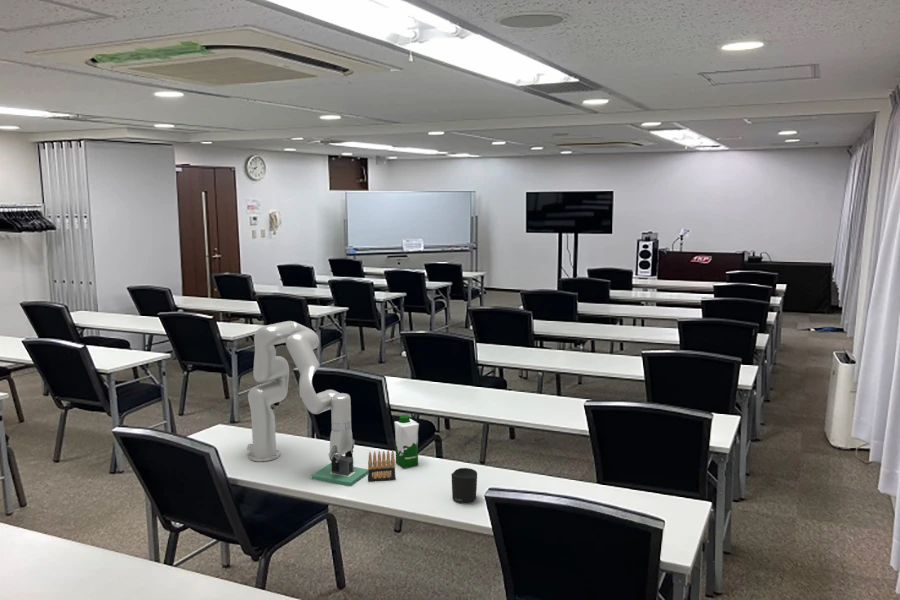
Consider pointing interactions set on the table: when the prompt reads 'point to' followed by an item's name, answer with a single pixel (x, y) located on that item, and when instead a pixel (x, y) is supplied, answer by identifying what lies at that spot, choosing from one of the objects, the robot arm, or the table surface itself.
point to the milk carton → (406, 442)
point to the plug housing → (345, 465)
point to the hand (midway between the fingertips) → (342, 466)
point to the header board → (339, 476)
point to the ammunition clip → (381, 467)
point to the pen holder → (464, 485)
